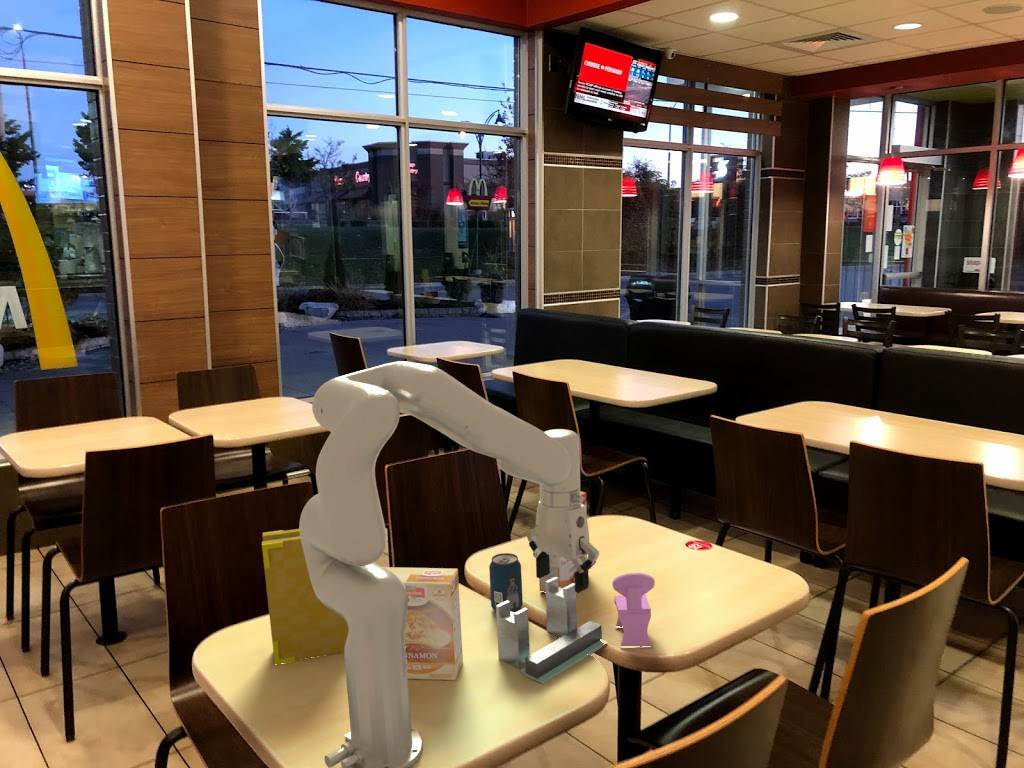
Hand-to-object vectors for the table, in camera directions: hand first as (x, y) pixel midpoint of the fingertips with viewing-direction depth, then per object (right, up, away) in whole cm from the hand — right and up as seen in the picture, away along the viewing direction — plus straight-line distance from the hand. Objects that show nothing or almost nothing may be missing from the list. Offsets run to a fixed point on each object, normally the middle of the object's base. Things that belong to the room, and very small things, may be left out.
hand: (562, 582), depth 152 cm
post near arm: (-9, -16, +3) cm, 18 cm away
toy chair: (+15, -14, +10) cm, 23 cm away
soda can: (-11, -12, +24) cm, 29 cm away
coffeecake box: (-27, -17, +1) cm, 32 cm away
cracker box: (+3, -9, +36) cm, 37 cm away
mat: (+1, -15, +3) cm, 16 cm away
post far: (+1, -13, +13) cm, 19 cm away
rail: (+1, -15, +3) cm, 15 cm away
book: (-49, -16, +10) cm, 52 cm away
